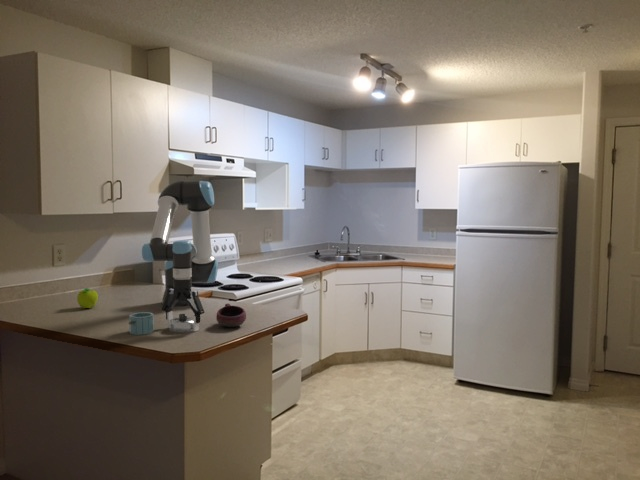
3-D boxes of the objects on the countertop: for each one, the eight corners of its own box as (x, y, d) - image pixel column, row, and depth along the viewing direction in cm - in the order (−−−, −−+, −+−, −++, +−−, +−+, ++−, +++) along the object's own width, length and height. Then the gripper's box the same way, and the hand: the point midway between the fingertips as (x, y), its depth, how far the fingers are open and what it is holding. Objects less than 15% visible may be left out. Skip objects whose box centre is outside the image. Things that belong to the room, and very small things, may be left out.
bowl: (252, 326, 227) (252, 308, 227) (227, 332, 218) (227, 312, 218) (230, 320, 239) (229, 302, 238) (205, 325, 229) (205, 306, 229)
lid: (180, 325, 229) (180, 310, 229) (202, 328, 225) (201, 313, 224) (164, 331, 219) (163, 316, 219) (185, 334, 215) (185, 318, 214)
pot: (144, 326, 226) (143, 310, 225) (161, 329, 222) (161, 312, 222) (121, 334, 214) (121, 317, 213) (139, 336, 210) (139, 319, 210)
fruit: (75, 310, 256) (75, 290, 255) (80, 306, 265) (79, 286, 264) (96, 309, 258) (95, 289, 257) (99, 305, 267) (99, 286, 266)
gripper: (152, 277, 222) (153, 327, 223) (201, 281, 212) (202, 334, 214) (164, 275, 228) (165, 324, 230) (212, 278, 219) (213, 329, 220)
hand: (183, 329), depth 222 cm, fingers open, 12 cm apart
